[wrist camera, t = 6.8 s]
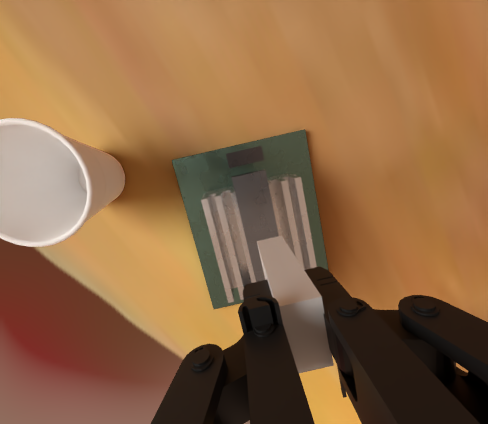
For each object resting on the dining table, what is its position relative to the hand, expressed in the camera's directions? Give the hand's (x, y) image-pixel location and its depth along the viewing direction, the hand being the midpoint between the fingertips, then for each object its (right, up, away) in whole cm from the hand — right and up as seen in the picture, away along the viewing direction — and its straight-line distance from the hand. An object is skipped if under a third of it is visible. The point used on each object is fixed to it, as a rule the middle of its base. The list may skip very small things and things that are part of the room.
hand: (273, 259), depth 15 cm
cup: (-19, +7, +15) cm, 25 cm away
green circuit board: (0, +1, +17) cm, 17 cm away
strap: (0, -1, +9) cm, 9 cm away
